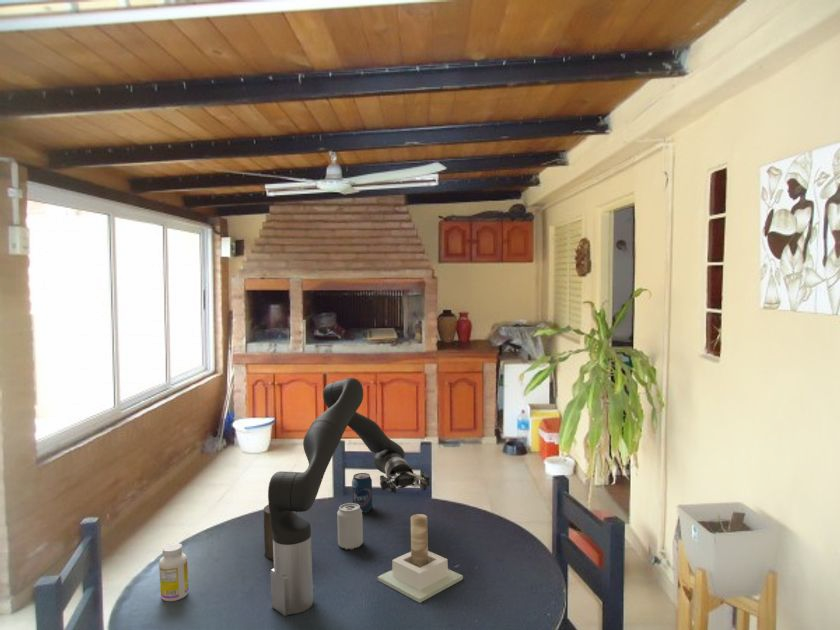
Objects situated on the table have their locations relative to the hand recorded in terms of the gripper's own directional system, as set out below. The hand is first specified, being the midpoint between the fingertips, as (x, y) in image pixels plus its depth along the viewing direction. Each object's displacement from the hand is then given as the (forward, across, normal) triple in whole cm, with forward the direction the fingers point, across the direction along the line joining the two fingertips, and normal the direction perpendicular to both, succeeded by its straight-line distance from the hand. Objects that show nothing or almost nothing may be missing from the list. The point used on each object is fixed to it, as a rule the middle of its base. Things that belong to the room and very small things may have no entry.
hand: (409, 488), depth 169 cm
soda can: (-42, -8, +20) cm, 47 cm away
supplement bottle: (+2, -62, +22) cm, 66 cm away
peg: (+10, 0, +20) cm, 23 cm away
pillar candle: (-16, -36, +21) cm, 44 cm away
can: (-15, -15, +21) cm, 30 cm away
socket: (+10, 0, +21) cm, 24 cm away
